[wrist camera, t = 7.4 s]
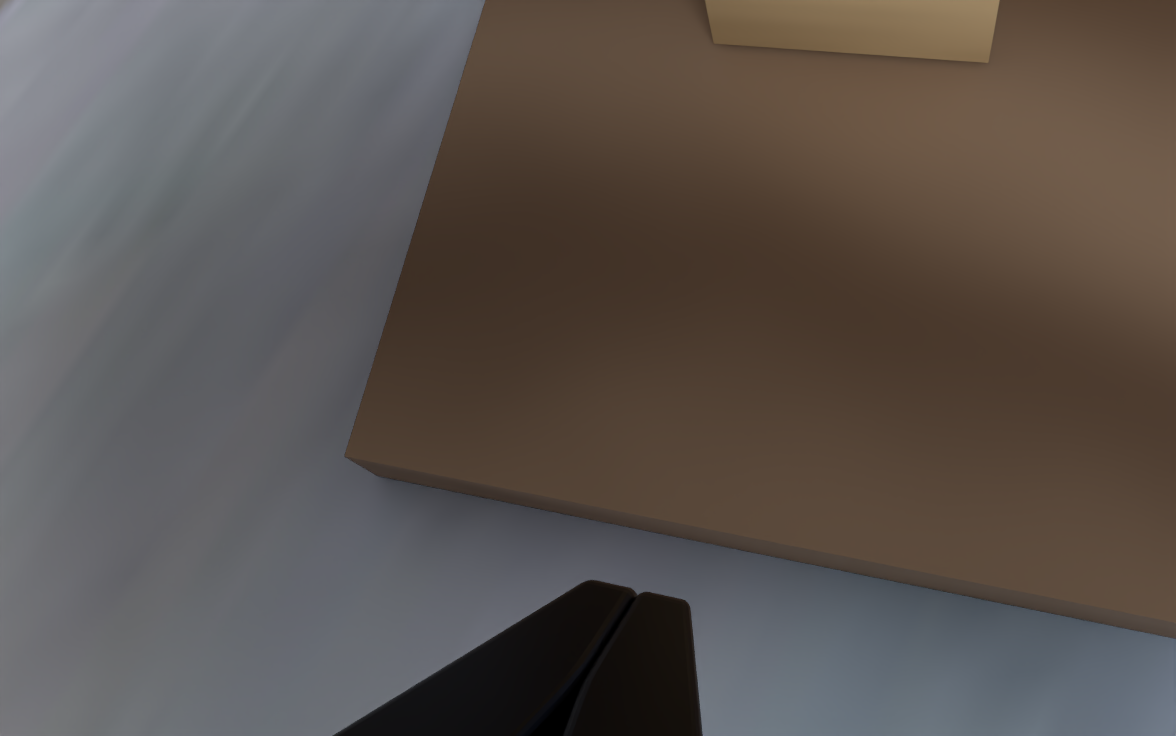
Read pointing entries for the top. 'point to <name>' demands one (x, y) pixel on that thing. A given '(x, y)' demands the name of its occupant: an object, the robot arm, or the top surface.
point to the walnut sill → (809, 298)
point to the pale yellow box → (860, 26)
